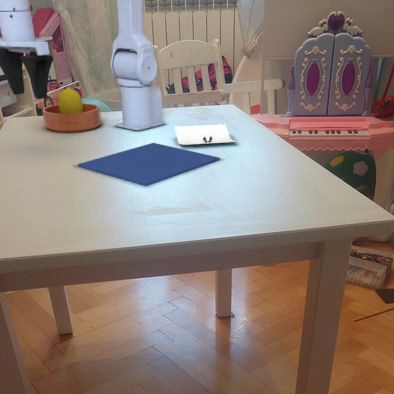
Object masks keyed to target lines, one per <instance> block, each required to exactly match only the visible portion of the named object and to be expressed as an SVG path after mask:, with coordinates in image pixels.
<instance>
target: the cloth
mask: <svg viewBox="0 0 394 394" xmlns="http://www.w3.org/2000/svg"><path fill="white" fill-rule="evenodd" d="M220 160H221V157H218V156H215V155H210V154H206V153H202V152H196V151H193V150H187V149H183V148H179V147H175V146H169V145H165V144H161V143H158V142H157V143H156V142H150V143H149V144H148V143H147V144H144V145H141V146H138V147H133V148H130V149H126V150H123V151H119V152H117V153H112V154H108V155H105V156H103V157H98V158H95V159H91V160H88V161H84V162H80V163H78V164H77V166H78V167H81V168H83V169H87V170H89V171H94V172H97V173H101V174H103V175H106V176H111V177H114V178H117V179H121V180H124V181H128V182H131V183H134V184H138V185H142V186H144V187H146V186H149V185H153V184H156V183H158V182H161V181H164V180H166V179H167V180H168V179H170V178H172V177H175V176H178V175H181V174H184V173H187V172H189V171H192V170H195V169H198V168H201V167H203V166H206V165H209V164H212V163H215V162H217V161H220Z"/></svg>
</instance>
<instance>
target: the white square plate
mask: <svg viewBox="0 0 394 394" xmlns="http://www.w3.org/2000/svg"><path fill="white" fill-rule="evenodd" d="M173 128H174V134H175V136H176V140H177V142H178V144H179V145H183V146H185V145H186V146H187V145H204V144H206V145H207V144H220V143H223V144H224V143H236V142H237V143H238V142H239V140H233V139H232V138H231V136H230V133H229V130H228V127H227V124H226V123H223V124H204V125H201V124H200V125H184V126H173Z"/></svg>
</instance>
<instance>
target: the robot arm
mask: <svg viewBox="0 0 394 394" xmlns="http://www.w3.org/2000/svg"><path fill="white" fill-rule="evenodd" d="M116 5H117V18H118V19H117V22H118V35H117V37H116V38H115V39H114V41H113V43H112V54H111V58H110V71H111V74H112V76H113V77H114V78H115V79H116V82H117V85H119V92H120V93H119V94H120V104H121V105H120V106H121V116H122V122H119V123H115V125H114V126H115V127H119V128H121V129H122V128H124V129H127V130H133V131H142V130H147V129H151V128H154V127H159V126H161V125H165V124H166V121H164V117H163V116H164V115H163V96H162V91H161V89H160V87H159V85H157V84H156V83H155V82H154V81H155V80H156V78H157V75H158V61H157V59H156V54H155V46H154V44H153V43H152V41H151V40H150V39H149V38H148V37H147V36H146V33H145V15H144V14H145V13H144V12H145V11H144V0H116ZM0 32H1V37H0V69H1V71H2V73H3V75H4V77H5V78H6V81H7V83H8V85H9V88H10V90H11V92H12V94H13V95H14V96H15V95H16V96H17V95H21V94H22V95H23V94H25V83H24V74H23V72H24V71H23V65H24V68H25V69H26V72H27V74H28V78H29V80H30V85H31V88H32V91H33V95H34V97H35V99H36V100H42V99H47V98H48V87H49V76H50V71H51V67H52V64H53V62H54V58H53V57H54V56H53V55H51V54H50V50H49V43H48V41H44V40H39V39H36V35H35V28H34V24H33V17H32V12H31V6H30V1H29V0H0ZM25 54H28V55H25Z"/></svg>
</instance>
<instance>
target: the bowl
mask: <svg viewBox="0 0 394 394" xmlns="http://www.w3.org/2000/svg"><path fill="white" fill-rule="evenodd" d="M82 104H83V113H73V114H61V112H60V109H59V103H58V104H53V105H49V106H45V107H44V108H42V116H43V117H42V118H43V122H44V127H45V128H46V129H48V130H50V131H53V132H57V133H79V132H85V131H91V130H94V129H96V128H97V127H99V126H101V124H102V116H101V107H100V106H99V105H98V104H95V103H94V104H93V103H86V102H85V103H84V102H82Z"/></svg>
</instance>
